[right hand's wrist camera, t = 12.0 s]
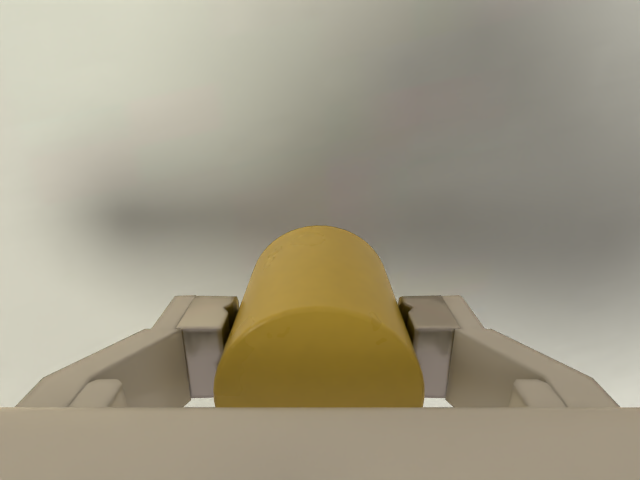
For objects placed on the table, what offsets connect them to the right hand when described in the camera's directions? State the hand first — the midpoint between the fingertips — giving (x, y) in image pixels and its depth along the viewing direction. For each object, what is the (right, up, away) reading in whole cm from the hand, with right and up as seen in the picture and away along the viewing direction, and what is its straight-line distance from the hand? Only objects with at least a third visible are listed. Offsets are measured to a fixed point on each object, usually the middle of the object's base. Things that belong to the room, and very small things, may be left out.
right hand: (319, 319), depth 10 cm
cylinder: (0, +1, +2) cm, 2 cm away
